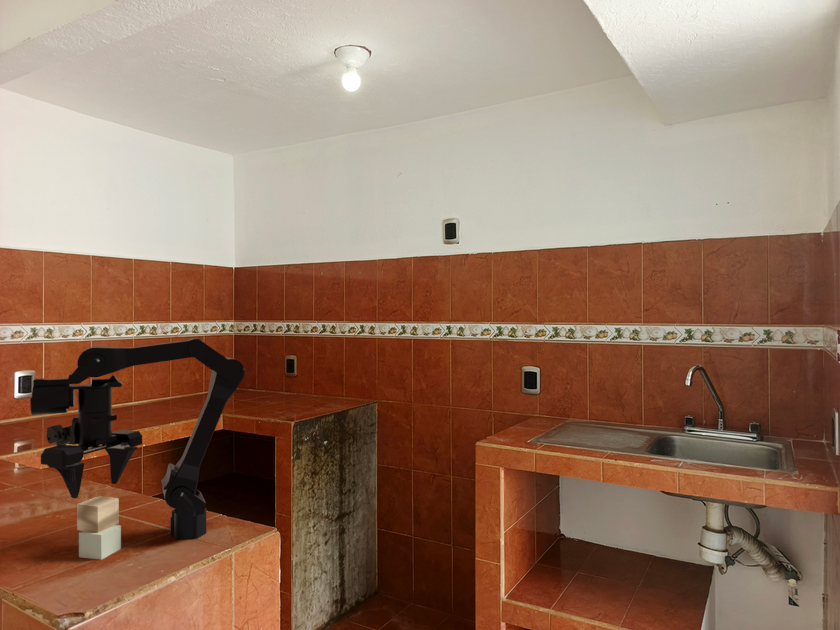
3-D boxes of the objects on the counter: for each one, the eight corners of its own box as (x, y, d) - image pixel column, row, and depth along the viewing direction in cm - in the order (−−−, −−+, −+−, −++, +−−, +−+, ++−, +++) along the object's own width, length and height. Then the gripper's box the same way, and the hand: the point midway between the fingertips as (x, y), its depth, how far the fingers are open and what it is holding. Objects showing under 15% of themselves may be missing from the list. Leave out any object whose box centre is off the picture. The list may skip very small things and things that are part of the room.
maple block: (118, 523, 111) (118, 498, 111) (97, 532, 107) (97, 506, 107) (98, 520, 113) (98, 496, 113) (77, 530, 108) (77, 504, 108)
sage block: (120, 550, 110) (120, 525, 110) (101, 561, 105) (101, 535, 105) (99, 548, 111) (99, 523, 111) (79, 559, 107) (78, 533, 107)
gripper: (102, 402, 121) (102, 474, 121) (17, 417, 103) (17, 502, 103) (144, 404, 117) (144, 478, 117) (64, 420, 100) (64, 507, 100)
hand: (95, 490), depth 109 cm, fingers open, 9 cm apart
